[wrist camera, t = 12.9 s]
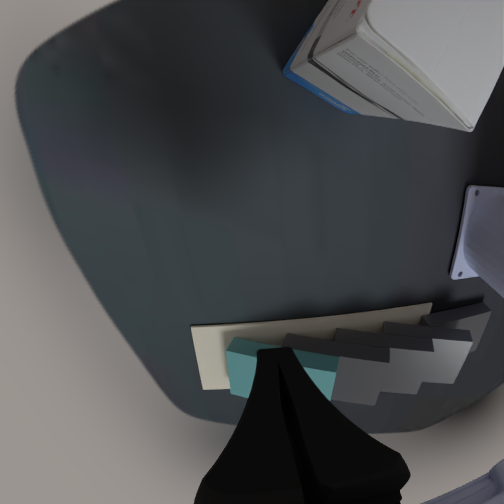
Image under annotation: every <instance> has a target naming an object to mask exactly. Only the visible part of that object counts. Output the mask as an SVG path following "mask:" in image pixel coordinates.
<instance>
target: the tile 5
mask: <svg viewBox="0 0 504 504" xmlns="http://www.w3.org/2000/svg"><path fill="white" fill-rule="evenodd" d="M491 312H492V311H491V310H490V309H489V308H488V307H487V306H486V305H485V304H484V303H483V302H481V303H477V304H473V305H468V306H464V307H460V308H455V309H451V310H446V311H441V312H436V313H432V314H427V315H422V316H421V319H420V322H419V325H421V326H431V327H441V328H451V329H462V330H470V334H471V337H472V340H473V343H472V346H471V348H470V350H469V352H472V351H475V350H476V348H477V346H478V343H479V341H480V339H481V336H482V334H483V332H484V329H485V327H486V324H487V322H488V319H489V317H490V314H491ZM469 352H468V353H469Z"/></svg>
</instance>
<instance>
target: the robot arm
mask: <svg viewBox="0 0 504 504" xmlns="http://www.w3.org/2000/svg"><path fill="white" fill-rule="evenodd" d="M476 190H477V192H476ZM475 192H476V194H475ZM459 272H460V273H459ZM476 276H480V277H481V278H482V279H483V280H485V281H486V282H487V283H488V284H489V285H490V286H491V287H492V288H493V289H494V290H496V291H497V292H498V293H499V294H500V295H501V296H502V297H503V298H504V188H502V187H489V186H476V185H470V186H468V187H467V189H466V194H465V201H464V207H463V213H462V219H461V224H460V230H459V235H458V239H457V244H456V249H455V253H454V258H453V262H452V266H451V270H450V277H451V278H452V279H453V280H456V279H463V278H469V277H476ZM256 352H257V363H256V370H255V376H254V380H253V384H252V388H251V391H250V394H249V397H248V400H247V403H246V406H245V409H244V411H243V414H242V416H241V418H240V420H239V423H238V425H237V427H236V429H235V431H234V433H233V435H232V437H231V438H230V440H229V442H228V444H227V445H226V447H225V448H224V450H223V452H222V453H221V455H220V456H219V458H218V459H217V461H216V462H215V464H214V465H213V466H212V468H211V469H210V470H209V471H208V473H207V474H206V475H205V476H204V478H203V479H202V481H201V484H200V486H199V489H198V491H197V494H196V497H195V501H194V504H401V503H400V501H401V499H402V496H401V494H400V490H401V489H402V487H403V486H404V485H405V484H406V483H407V482H408V480H409V478H410V471H409V469H408V466H407V465H406V463H405V461H404V459H403V458H402V456H401V455H400V453H398V452H396V451H394V450H392V449H391V448H389V447H387V446H385V445H383V444H382V443H380V442H379V441H377V440H376V439H374V438H372V437H371V436H369V435H368V434H367V433H365V432H364V431H363V430H361V429H360V428H359V427H357V426H356V425H355V424H354V423H352V422H351V421H350V420H349V419H348V418H346V417H345V416H344V415H343V414H342V413H341V412H340V411H339V410H338V409H337V408H336V407H335V406H334V405H333V404H332V403H331V402H330V401H329V400H328V399H327V398H326V397H325V395H324V394H323V393H322V392H321V391H320V390H319V388H318V387H317V386H316V385H315V383H314V382H313V381H312V379H311V378H310V377H309V375H308V374H307V372H306V371H305V369H304V368H303V366H302V365H301V363H300V362H299V360H298V358H297V357H296V355H295V353H294V351H293V349H292V348H291V347H279V348H267V349H259V350H258V351H256ZM421 504H504V459H503V460H501V461H500V462H498V463H497V464H496V465H495V466H494V467H493V468H492V469H491V470H490V471H489V473H486V474H485V475H483V476H481V477H479V478H477V479H475V480H473V481H471V482H469V483H467V484H465V485H463V486H461V487H459V488H456V489H454V490H452V491H450V492H448V493H445V494H443V495H441V496H438V497H436V498H434V499H431V500H429V501H426V502H424V503H421Z"/></svg>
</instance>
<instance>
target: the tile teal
mask: <svg viewBox="0 0 504 504" xmlns="http://www.w3.org/2000/svg"><path fill="white" fill-rule="evenodd" d="M267 348H279V346H274V345H269V344H264V343H259V342H254V341H250V340H245V339H240V338H236V337H234V338H233V340H232V342H231V343H230V345H229V346H228V348H227V350H226V356H227V365H228V374H229V383H230V391H231V394H234V395H238V396H242V397H246V398H248V397H249V394H250V391H251V388H252V384H253V380H254V376H255V370H256V363H257V352H256V351H258V350H259V349H267ZM293 351H294V353H295V355H296V357H297V358H298V360H299V362H300V363H301V365H302V366H303V368H304V369H305V371H306V372H307V374H308V375H309V377H310V378H311V379H312V381H313V382H314V383H315V385H316V386H317V387H318V388H319V390H320V391H321V392H322V393H323V394H324V395H325V397H326V398H327V399H328V400H329V401H330V400H331V395H332V391H333V386H334V382H335V377H336V372H337V367H338V362H339V357H336V356H330V355H323V354H317V353H312V352H306V351H300V350H295V349H293Z"/></svg>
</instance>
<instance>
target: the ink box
mask: <svg viewBox="0 0 504 504" xmlns="http://www.w3.org/2000/svg"><path fill="white" fill-rule="evenodd" d="M503 67H504V0H328V2H327V3H326V5H325V6H324V8H323V9H322V11H321V12H320V13H319V15H318V16H317V18H316V19H315V21H314V22H313V24H312V25H311V27H310V28H309V30H308V31H307V33H306V34H305V36H304V37H303V39H302V40H301V42H300V43H299V45H298V47H297V48H296V50H295V51H294V53H293V54H292V56H291V58H290V59H289V61H288V62H287V64H286V65H285V67H284V69H283V71H282V74H283V75H284V76H285V77H286V78H288V79H290V80H292V81H293V82H295V83H297V84H298V85H300V86H302V87H304V88H305V89H307V90H309V91H310V92H312V93H313V94H315V95H317V96H318V97H320V98H322V99H323V100H325V101H326V102H328V103H329V104H331V105H333V106H334V107H336V108H338V109H339V110H341V111H343V112H345V113H349V114H362V115H371V116H379V117H387V118H395V119H401V120H409V121H416V122H422V123H428V124H433V125H438V126H444V127H449V128H454V129H458V130H463V131H468V132H472V131H473V130H474V127H475V125H476V123H477V121H478V119H479V117H480V115H481V113H482V111H483V109H484V107H485V105H486V103H487V101H488V99H489V97H490V95H491V93H492V91H493V88H494V86H495V84H496V82H497V80H498V78H499V75H500V73H501V71H502V69H503Z"/></svg>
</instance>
